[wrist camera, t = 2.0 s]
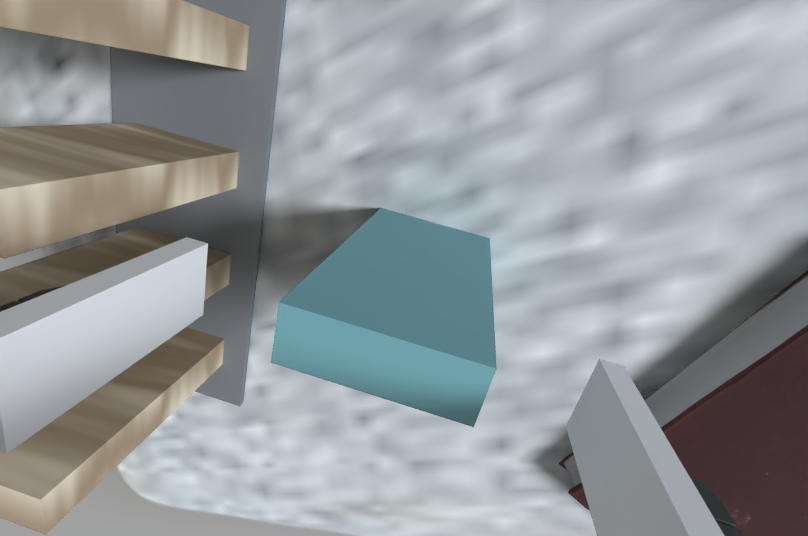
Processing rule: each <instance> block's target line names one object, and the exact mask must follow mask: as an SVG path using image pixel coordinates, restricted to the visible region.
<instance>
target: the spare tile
mask: <svg viewBox="0 0 808 536" xmlns="http://www.w3.org/2000/svg"><path fill="white" fill-rule="evenodd" d="M271 363H274V364H277V365H280V366H283V367H287V368H290V369H293V370H296V371H299V372H302V373H305V374H309V375H312V376H315V377H318V378H321V379H324V380H327V381H331V382H334V383H337V384H340V385H343V386H346V387H349V388H353V389H356V390H359V391H362V392H365V393H368V394H371V395H375V396H378V397H381V398H384V399H387V400H390V401H393V402H397V403H400V404H403V405H406V406H409V407H412V408H415V409H419V410H422V411H425V412H428V413H431V414H434V415H437V416H441V417H444V418H447V419H450V420H453V421H456V422H459V423H463V424H466V425H469V426H472V427H474V425H475V422H476V420H477V417H478V415H479V412H480V409H481V407H482V404H483V402H484V399H485V397H486V394H487V392H488V389H489V386H490V384H491V381H492V379H493V376H494V374H495V371H496V351H495V332H494V313H493V294H492V275H491V256H490V239H489V238H486V237H482V236H478V235H475V234H471V233H468V232H464V231H461V230H457V229H454V228H450V227H446V226H443V225H439V224H436V223H432V222H429V221H425V220H422V219H418V218H414V217H411V216H407V215H404V214H400V213H397V212H393V211H390V210H386V209H382V208H380V209H379V210H378V211H377V212H376V213H375V214H374V215H373V216H371V217H370V218H369V219H368V220H367V221H366V222H365V223H364V224H363V225H362V226H361V227H360V228H359V229H357V230H356V231H355V232H354V233H353V234H352V235H351V236H350V237H349V238H348V239H347V240H346V241H345V242H343V243H342V244H341V245H340V246H339V247H338V248H337V249H336V250H335V251H334V252H333V253H332V254H331V255H329V256H328V257H327V258H326V259H325V260H324V261H323V262H322V263H321V264H320V265H319V266H318V267H317V268H315V269H314V270H313V271H312V272H311V273H310V274H309V275H308V276H307V277H306V278H305V279H304V280H303V281H301V282H300V283H299V284H298V285H297V286H296V287H295V288H294V289H293V290H292V291H291V292H290V293H289V294H287V295H286V296H285V297H284V298H283V299H282V300H281V301H280V302H279V307H278V314H277V321H276V329H275V336H274V344H273V351H272V359H271Z"/></svg>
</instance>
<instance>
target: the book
mask: <svg viewBox="0 0 808 536" xmlns="http://www.w3.org/2000/svg"><path fill="white" fill-rule="evenodd" d="M644 401H645V403H646V404H647V406H648V408H649V409H650V411H651V413H652V414H653V416H654V418H655V419H656V421H657V423H658V424H659V426H660V428H661V429H662V431H663V433H664V435H665V436H666V438H667V440H668V441H669V443H670V445H671V446H672V448H673V450H674V451H675V453H676V455H677V456H678V458H679V460H680V462H681V463H682V465H683V467H684V468H685V470H686V472H687V473H688V475H689V477H690V478H692V479H695V480H698V481H701V482H703V483H704V485H705V486H706V487H707V488H708V489H709V490H710V491H711V492H712V493H713V494H714V495H715V496H716V497H717V498H718V499H719V500H720V501H721V502H722V503H723V505H724V506H725V508H726V509H727V511H728V513H729V514H730V516H731V517H732V519H733V520H734V522H735V524H736V529H739V530H740V531H741V533H742V535H743V536H808V271H807V272H806V273H804V274H803V275H802V276H800V277H799V278H798V279H796V280H795V281H794V282H793V283H791V284H790V285H789V286H787V287H786V288H785V289H784V290H782V291H781V292H780V293H778V294H777V295H776V296H774V297H773V298H772V299H771V300H770V301H769V302H768V303H767V304H765V305H764V306H763V307H762V308H761V309H759V310H758V311H757V312H755V313H754V314H753V315H752V316H750V317H749V318H748V319H747V320H745V321H744V322H743V323H742V324H741V325H739V326H738V327H737V328H736V329H734V330H733V331H732V332H731V333H730V334H728V335H727V336H726V337H725V338H723V339H722V340H721V341H720V342H718V343H717V344H716V345H715V346H713V347H712V348H711V349H709V350H708V351H707V352H706V353H704V354H703V355H702V356H700V357H699V358H698V359H697V360H695V361H694V362H693V363H692V364H690V365H689V366H688V367H686V368H685V369H684V370H683V371H681V372H680V373H679V374H678V375H676V376H675V377H674V378H672V379H671V380H670V381H669V382H667V383H666V384H665V385H663V386H662V387H661V388H660V389H658V390H657V391H656V392H655V393H654V394H652V395H651V396H650V397H648V398H647V399H646V400H644ZM559 464H560V465H561V466H563V467H564V468H566V469H567V470H568V472H569V474H570V476H571V479H572V481H573V484H574V487H573V488H571V489H570V490H569V492H568V493H569V494H570V495H572V496H573V497H574V498H575V499H576V500H577V501H578V502H579V503H581V504H582V505H583V506H584V507H586V508H587V509H588V510H590V509H589V506H588V502H587V499H586V495H585V492H584V488H583V485H582V481H581V478H580V474H579V471H578V467H577V464H576V460H575V457H574V453H572V454H570V455H568V456H567V457H565V458H564V459H563V460H562V461H561V462H560V463H559Z"/></svg>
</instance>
